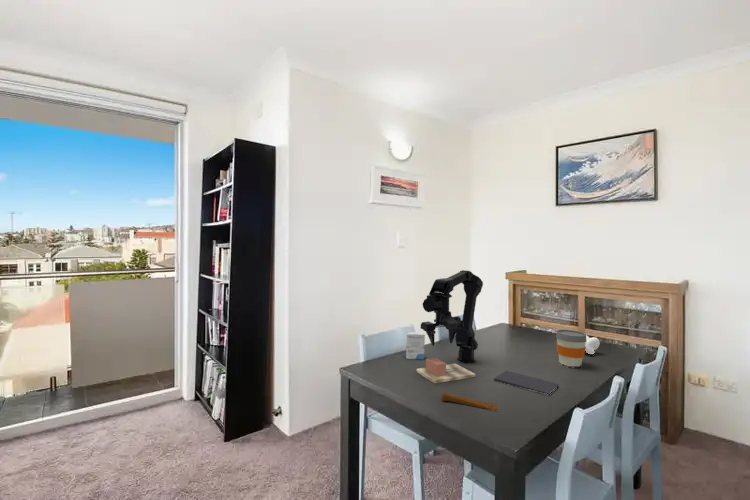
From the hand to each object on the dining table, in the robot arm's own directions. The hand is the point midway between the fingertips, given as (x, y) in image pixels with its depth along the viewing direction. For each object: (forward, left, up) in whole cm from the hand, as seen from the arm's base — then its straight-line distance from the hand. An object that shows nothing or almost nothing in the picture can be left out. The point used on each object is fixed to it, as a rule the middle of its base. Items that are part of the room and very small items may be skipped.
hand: (442, 344), depth 162 cm
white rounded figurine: (-86, +5, -12) cm, 87 cm away
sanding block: (+6, +5, -10) cm, 13 cm away
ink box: (+2, -19, -12) cm, 23 cm away
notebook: (-24, +24, -12) cm, 36 cm away
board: (+1, +5, -11) cm, 12 cm away
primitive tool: (+9, +32, -12) cm, 35 cm away
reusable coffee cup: (-61, +15, -12) cm, 64 cm away
